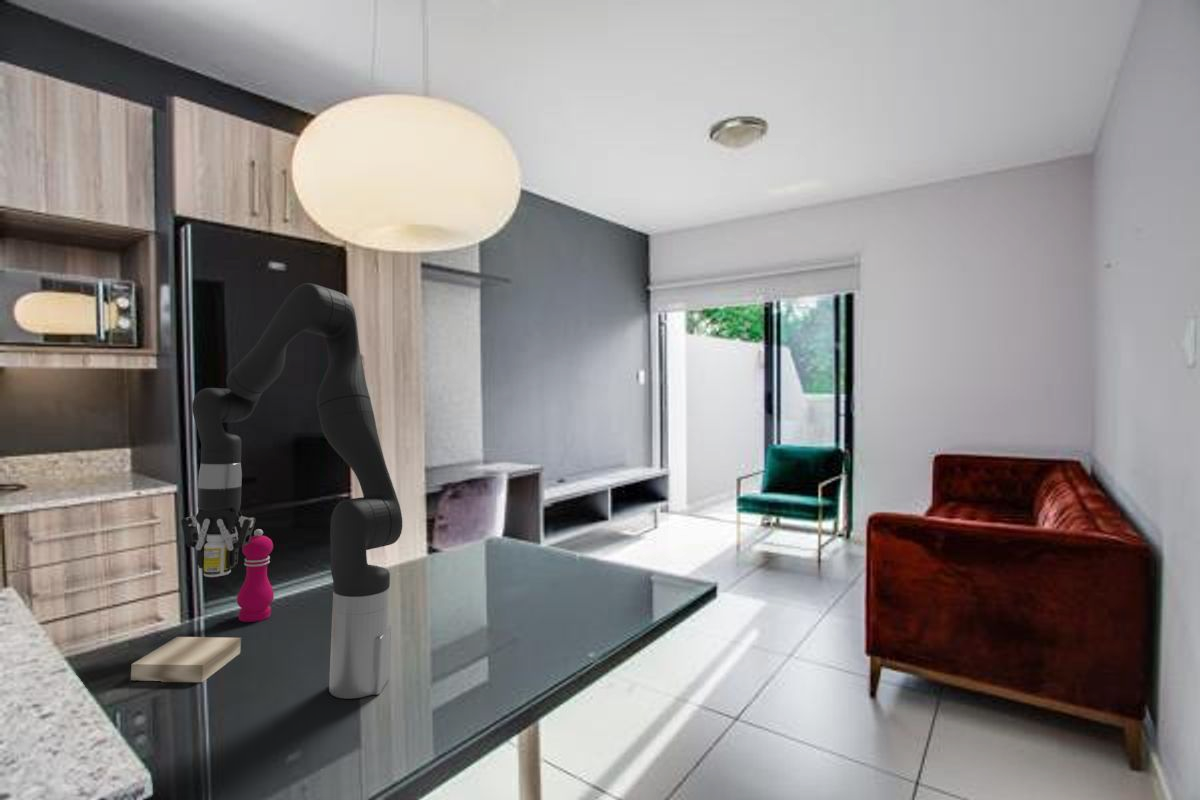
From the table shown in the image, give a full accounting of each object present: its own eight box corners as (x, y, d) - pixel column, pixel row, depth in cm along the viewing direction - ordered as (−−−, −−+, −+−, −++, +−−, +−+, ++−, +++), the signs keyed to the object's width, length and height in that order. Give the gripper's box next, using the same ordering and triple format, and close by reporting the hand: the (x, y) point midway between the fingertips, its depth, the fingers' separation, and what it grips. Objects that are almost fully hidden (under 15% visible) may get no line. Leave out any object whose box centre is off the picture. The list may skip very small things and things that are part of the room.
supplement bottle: (226, 569, 124) (227, 529, 125) (234, 574, 121) (235, 533, 122) (199, 574, 121) (201, 533, 121) (207, 578, 118) (209, 536, 118)
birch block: (240, 653, 115) (240, 637, 115) (202, 682, 103) (203, 665, 103) (176, 652, 114) (177, 636, 114) (130, 681, 102) (131, 664, 102)
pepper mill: (267, 609, 138) (271, 524, 138) (277, 618, 133) (280, 530, 133) (232, 616, 133) (236, 528, 133) (240, 625, 128) (244, 534, 128)
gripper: (265, 483, 125) (262, 563, 125) (195, 481, 125) (192, 562, 124) (246, 487, 118) (243, 573, 118) (172, 486, 117) (168, 572, 117)
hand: (217, 567), depth 121 cm, fingers closed on supplement bottle, 4 cm apart
